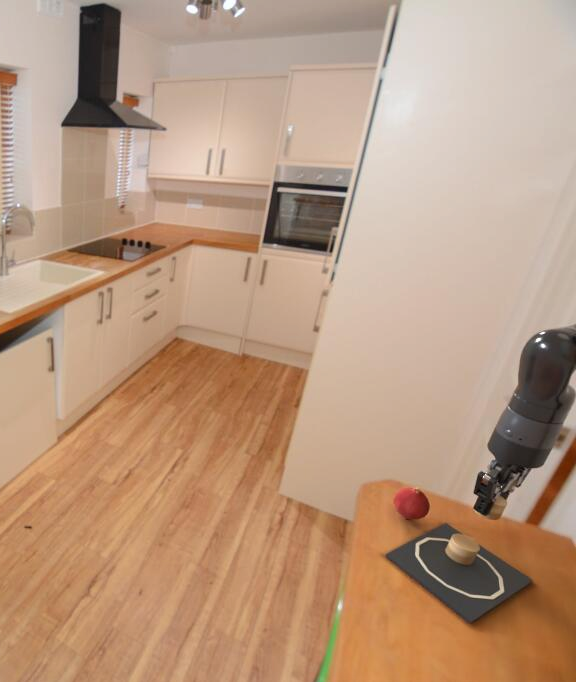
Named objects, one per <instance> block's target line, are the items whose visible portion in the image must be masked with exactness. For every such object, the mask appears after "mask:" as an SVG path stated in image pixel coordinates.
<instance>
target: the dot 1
mask: <svg viewBox="0 0 576 682" xmlns="http://www.w3.org/2000/svg"><path fill="white" fill-rule="evenodd" d="M462 534H463V533H462ZM462 534H454V535H452V537H451V539H450V541H449V543H448V545H447V547H446V549H445V551H446V554H447V555H448V556H449V557H450V558H451V559H452V560H454V561H455V562H457V563H460V564H463V565H470V564H472V563H473V561H474V559H475V557H476V556H477V554H478V552H479V550H480V547H479V545H480V544H479V543H478V542H477V541H476V540H475V539H474V538H472V537H470V536H468V535H466V534H464V535H462ZM478 544H479V545H478Z"/></svg>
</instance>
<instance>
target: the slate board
mask: <svg viewBox="0 0 576 682" xmlns="http://www.w3.org/2000/svg"><path fill="white" fill-rule="evenodd" d="M454 534H462V535H465V534H463V532H461V531H459V530H458V529H456V528H454V527H453V526H452V525H451V524H449V523H447V522H444V523H443V524H441V525H439V526H437V527H435V528H433V529H431V530H429V531H427V532H425V533H423V534H421V535H419V536H418V537H416V538H413V539H412V540H410V541H408V542H405V543H404V544H402V545H400V546H398V547H396V548H395V549H393V550H391V551H388V552H386V554H385V558H386V559H388V560H389V561H390V562H392V564H394V565H395V566H396V567H398V568H399V569H400V570H402V571H403V572H404V573H405V574H406V575H408V576H409V577H410V578H411V579H413V580H414V581H415V582H417V584H419V585H420V586H421V587H422V588H424V589H425V590H427V591H428V592H429V593H430V594H432V595H433V596H434V597H435V598H437V599H438V600H439V601H441V603H443V604H444V605H446V606H447V607H448V608H449V609H450V610H451V611H453V612H455V614H457V615H458V616H460V618H461V619H463V620H464V621H465V622H466V623H468V624H470V625H472V624H473V623H475V622H476V621H477V620H479V619H481V618H482V617H484V616H485V615H487V614H488V613H490V612H491V611H493V610H494V609H496V608H497V607H498V606H500V605H501V604H503V603H504V602H506V601H508V600H509V599H510V598H512V597H513V596H515V595H517V594H518V593H520V592H521V591H523V590H524V589H526V588H527V587H528V586H530V585H532V583H533V582H534V580H533V579H532V578H531V577H529V576H528V575H526V574H525V573H523V572H522V571H520V570H518V569H517V568H515V567H514V566H512V565H511V564H509V563H508V562H507V561H505V560H504V559H502V558H501V557H498V556H497V555H496V554H495V553H493V552H491V551H489V550H488V549H486V548H485V547H484V546H482V545H480V544H479V543H478V545H479V547H480V550H479V552H478V554H477V556H476V557H475V559H474V561H473V563H472V564H470V565H463V564H460V563H457V562H455V561H454V560H452V559H451V558H450V557H449V556H448V555H447V554H446V551H445V549H446V547H447V545H448V543H449V541H450V539H451V537H452V535H454Z"/></svg>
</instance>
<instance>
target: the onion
mask: <svg viewBox="0 0 576 682" xmlns="http://www.w3.org/2000/svg"><path fill="white" fill-rule="evenodd" d="M392 503H393V506H394V509H395V510H396V511H397V513H398V514H399V515H400V516H401V517H402V518H403V519H405V520H416V521H417V520H418V521H419V520H421V519H423V518H425V517H427V515H428V514H429V512H430V508H431V505H430V502H429V498H428V497H427V496H426V494H425V493H424V492H423V491H422V490H421V489H420V488H419V487H404V488H402V489H399V490H398V491H397V492H396V493H395V494H394V497H393V499H392Z"/></svg>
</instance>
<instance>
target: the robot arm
mask: <svg viewBox="0 0 576 682" xmlns="http://www.w3.org/2000/svg"><path fill="white" fill-rule="evenodd" d="M518 363H519V364H518V371H517V372H518V373H517V384H516V387H515V388H514V390H513V392H512V395H511V396H510V399H509V401H508V403H507V405H506V406H505V408H504V409H503V410H502V412H501V414H500V416H499V418H498V420H497V423H496V424H495V427H494V429H493V431H492V433H491V436H490V437H489V439H488V442H487V444H486V446H487V450H488V451H489V452H490V454H492V455H493V457H494V459H492V460H490V461H489V463H488V465H487V467H486V468H487V469H486V471H485V472H484V471H483V470H480V471H479V472H478V473H477V476H476V480H475V483H474V488H473V491H472V492H473V495H475V496H476V498H477V496H478V498H477V500H476V499H475V500H476V502H475V501H474V503H475V504H474V503H473V505H474V507H473V506H472V509H473V511H474V510H475V511H477V512H478V513H480V514H482V515H484V516H487V515H488V514H489V513H490V511H491V509H492V507H493V505H494V503H495V501H497V498H498V497H499V495H500V496H502V497H503V498H504V499H505V500H506V501H507V500H508V498H509V496H510V495H511V494H512V493H514V492H515V490H516V488H517V489H519V488H521V486H522V484H523V483H524V481H525V480H526V478H527V477H528V475H529V474H530V472H531V471H532V469H539V468H541V467H543V466H544V465H545V463H546V461H547V459H548V458H549V456H550V453H552V450H553V448H554V446H555V445H556V442H557V441H558V438H559V437H560V435H561V433H562V429H563V426H564V424H565V421H566V419H567V417H568V415H569V414H570V412H571V410H572V408H573V406H574V404H575V402H576V390H575V388H574V387H573V386H572V385H570V382H571V379H572V377H573V375H574V373H575V372H576V323H575V324H574V323H573V324H571V325H568V326H561V327H554V328H547V329H543V330H540V331H537V332H536V333H534V334H533V335H532V336H530V338H529V339H528V340H527V341H526V343H525V344H524V346H523V347H522V350H521V353H520V357H519V362H518ZM475 511H474V512H475Z"/></svg>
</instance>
